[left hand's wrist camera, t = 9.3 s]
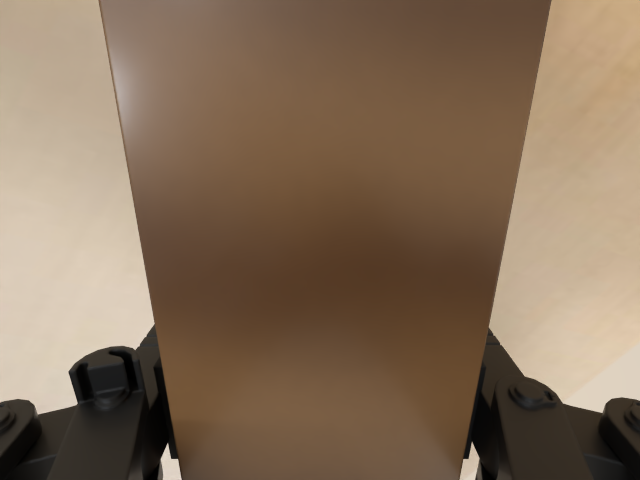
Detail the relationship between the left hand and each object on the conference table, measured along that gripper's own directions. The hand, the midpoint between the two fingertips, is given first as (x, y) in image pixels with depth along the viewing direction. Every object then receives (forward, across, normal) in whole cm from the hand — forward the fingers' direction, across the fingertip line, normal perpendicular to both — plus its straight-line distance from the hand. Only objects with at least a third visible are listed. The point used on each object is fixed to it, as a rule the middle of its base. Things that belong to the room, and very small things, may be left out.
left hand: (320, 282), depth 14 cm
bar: (+1, 0, -26) cm, 26 cm away
